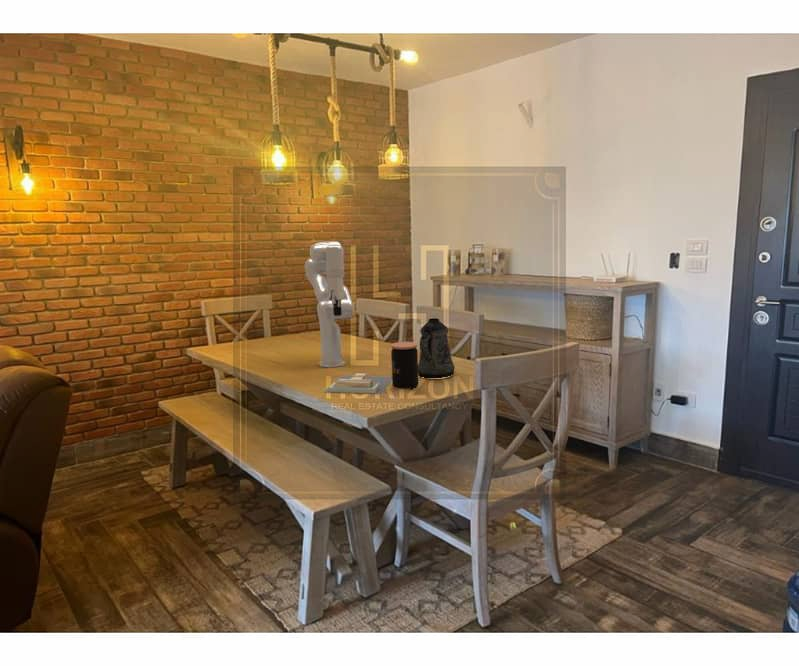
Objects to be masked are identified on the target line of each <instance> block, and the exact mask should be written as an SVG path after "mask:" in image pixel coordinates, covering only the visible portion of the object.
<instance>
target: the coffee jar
mask: <svg viewBox="0 0 799 666" xmlns="http://www.w3.org/2000/svg"><path fill="white" fill-rule="evenodd" d="M390 346H391V352H390V353H391V356H390V357H391V359H390V360H391V377H392V381H391V382H392V383H391V384H392V387H394V388H396V389H397V388H398V389H409V391H412V390H415V389H417V388H416V387H418V386H419V374H418V364H419V359H418V357H419V356H418V348H417V347H418V343H416V342H413V341H399V342H394V343H391V344H390ZM414 388H415V389H414ZM411 389H412V390H411Z"/></svg>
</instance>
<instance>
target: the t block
mask: <svg viewBox="0 0 799 666" xmlns="http://www.w3.org/2000/svg"><path fill="white" fill-rule="evenodd" d="M352 376H353V377H352V378H351V379H338V378H337V379H338V380H337V379H336V380H337V381H336V380H335V381H336V387H361V388H373V380H367V376H368V375H367V373H356V372H355V374H354V375H352Z"/></svg>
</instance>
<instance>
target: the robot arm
mask: <svg viewBox="0 0 799 666" xmlns="http://www.w3.org/2000/svg"><path fill="white" fill-rule="evenodd" d="M344 255H345V252H344V247H343V246H342V244H341V243H340V242H339V241H333V240H330V241H319V242H316V243H314V244H311V245H310V248H309V257H310V258H308V259H306V261H305V263H304V272H305V275H306V278H307V279H308V281H309V283H310V284H311V286H312V287H313V290H314V293H315V294H314V295H315V297H316V301H317V302H318V303H317V306H316V311H317V312H316V313H317V315H318V323H319V332H320V350H321V360H320V361H319V362H318V366H320V367H321V368H338V367H343V366H345V364H346V360H343V359H342V356H343V353H342V343H341V341H342V339H341V337H342V336H341V328H340V326H339V324H337V323H336V321H335V320H343V319H350V318H352V317H353V316H354V314H355V306H354V302H353V300H352V297H351V294H350V291H349V288H348V287H347V286H346V285H344V277H345V265H344V263H345V261H344ZM324 274H326V276H325V275H324Z"/></svg>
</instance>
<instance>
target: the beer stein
mask: <svg viewBox="0 0 799 666" xmlns="http://www.w3.org/2000/svg"><path fill="white" fill-rule="evenodd" d="M449 330H450V329H449V328H448V327H447V326H446V325H445V324H444V323H443V322H441V321H440V319H439V318H436V317H435V318H434V317H433V318H429V319H428V320H427V322H426V323H425V324H423V326H422V327H421V329H420V330H419V331H420V334H421V336H420V339H419V350H420V352H419V359H418V377H419V376H420V378H421V377H424V378H423V379H425V378H442V377H448V376H451V375H453V374H455V363H454V362H453V359H452V355H451V349H450V343H449V339H448V334H449ZM453 376H454V375H453Z"/></svg>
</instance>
